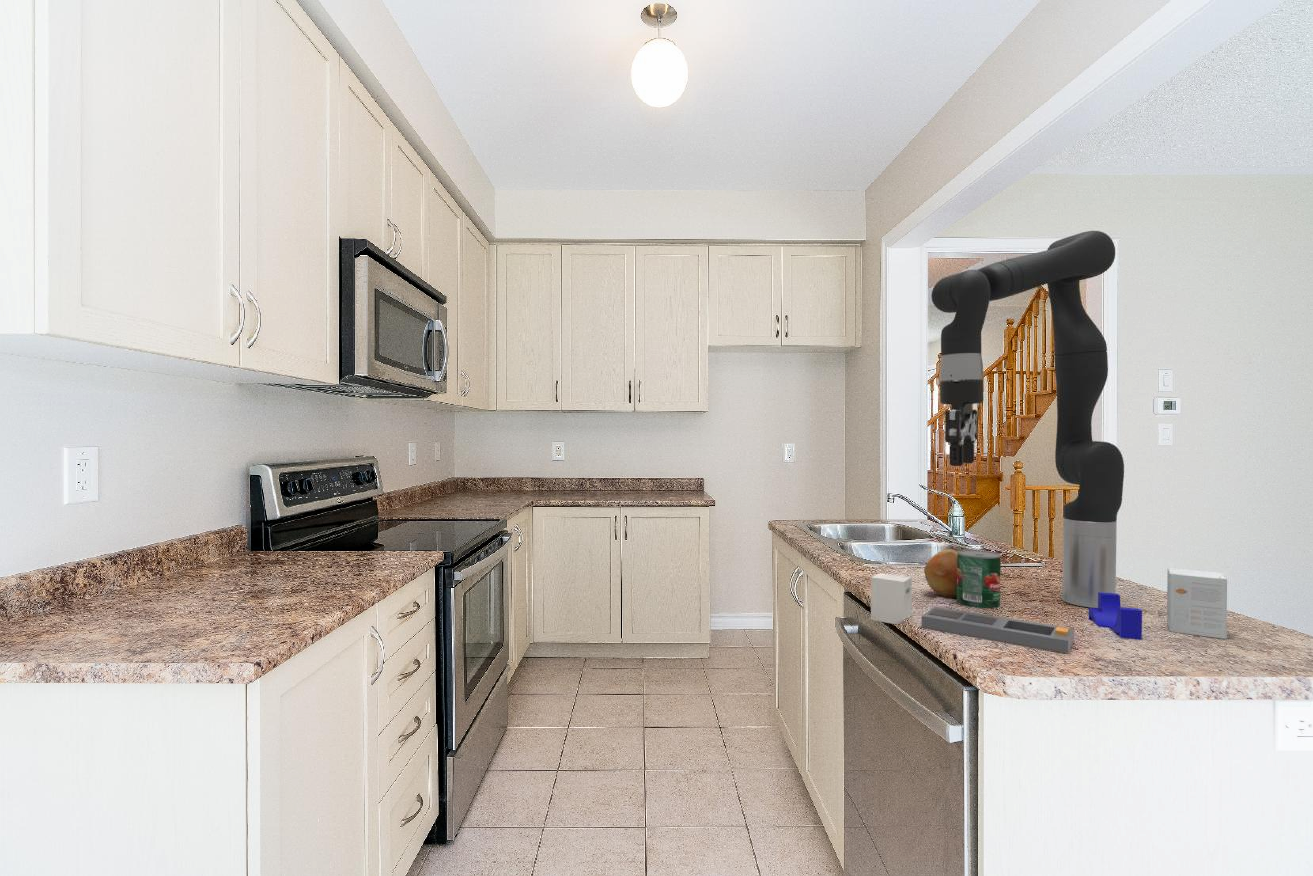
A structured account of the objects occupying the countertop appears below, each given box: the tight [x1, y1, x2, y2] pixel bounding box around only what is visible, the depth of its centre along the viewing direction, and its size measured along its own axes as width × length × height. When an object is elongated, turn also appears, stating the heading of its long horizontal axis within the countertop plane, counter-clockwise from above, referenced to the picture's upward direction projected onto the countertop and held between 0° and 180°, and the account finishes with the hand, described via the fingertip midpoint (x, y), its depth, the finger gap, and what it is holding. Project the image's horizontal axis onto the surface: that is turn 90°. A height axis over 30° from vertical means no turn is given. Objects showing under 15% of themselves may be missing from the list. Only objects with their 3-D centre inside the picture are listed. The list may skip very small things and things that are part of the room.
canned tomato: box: [956, 549, 1002, 609], centre depth 134 cm, size 8×8×11 cm
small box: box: [1166, 567, 1228, 640], centre depth 119 cm, size 8×6×10 cm
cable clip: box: [1088, 592, 1143, 641], centre depth 118 cm, size 12×4×6 cm, turn 162°
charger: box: [870, 573, 912, 625], centre depth 126 cm, size 4×6×8 cm
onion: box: [923, 548, 959, 599], centre depth 143 cm, size 10×10×10 cm
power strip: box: [921, 606, 1075, 655], centre depth 114 cm, size 8×22×4 cm, turn 52°
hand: (962, 464), depth 128 cm, fingers open, 8 cm apart
